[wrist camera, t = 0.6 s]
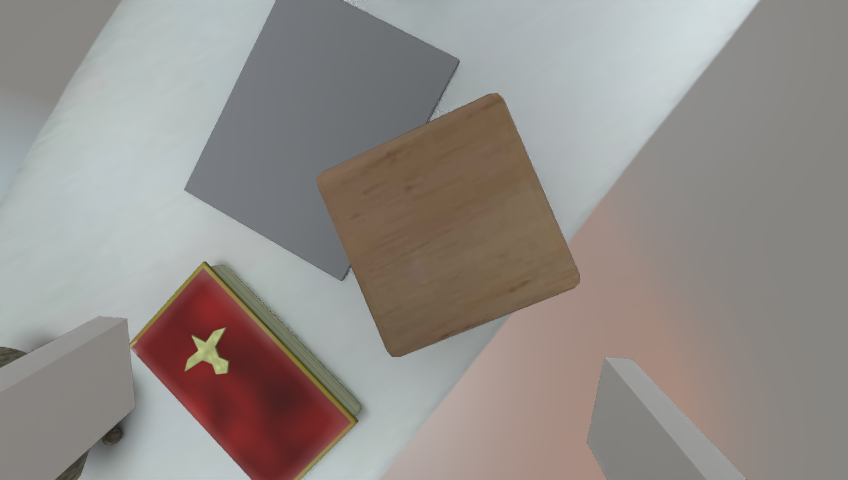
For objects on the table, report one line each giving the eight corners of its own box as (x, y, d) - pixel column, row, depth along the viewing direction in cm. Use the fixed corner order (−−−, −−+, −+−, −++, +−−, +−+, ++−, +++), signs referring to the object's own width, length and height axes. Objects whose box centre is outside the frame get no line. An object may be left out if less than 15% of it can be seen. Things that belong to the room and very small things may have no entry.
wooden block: (390, 202, 40) (309, 174, 20) (485, 159, 38) (500, 85, 19) (430, 295, 39) (388, 363, 20) (527, 256, 38) (587, 285, 18)
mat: (291, -23, 40) (289, -27, 40) (459, 62, 38) (459, 59, 38) (187, 190, 42) (183, 189, 41) (343, 280, 40) (341, 280, 40)
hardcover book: (290, 481, 42) (270, 509, 38) (156, 337, 44) (122, 349, 39) (368, 404, 41) (356, 424, 37) (227, 259, 42) (201, 262, 38)
